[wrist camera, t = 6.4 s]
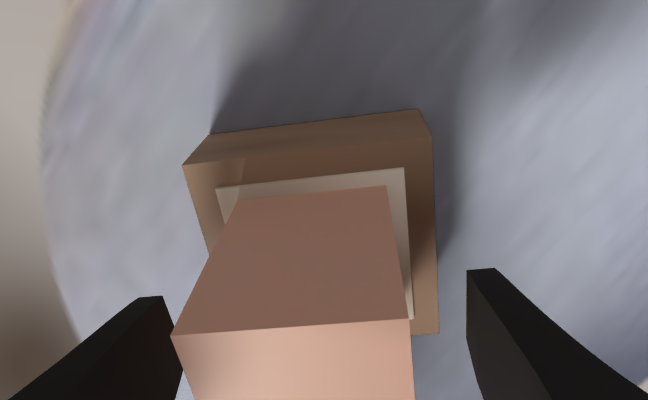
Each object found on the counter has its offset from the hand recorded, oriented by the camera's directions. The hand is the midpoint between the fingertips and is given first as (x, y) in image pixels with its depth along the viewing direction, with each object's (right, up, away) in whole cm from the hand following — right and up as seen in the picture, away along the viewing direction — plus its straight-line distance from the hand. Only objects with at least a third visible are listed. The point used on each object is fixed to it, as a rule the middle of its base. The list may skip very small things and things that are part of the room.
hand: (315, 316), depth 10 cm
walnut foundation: (0, +2, +4) cm, 5 cm away
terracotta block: (0, +1, +2) cm, 2 cm away
